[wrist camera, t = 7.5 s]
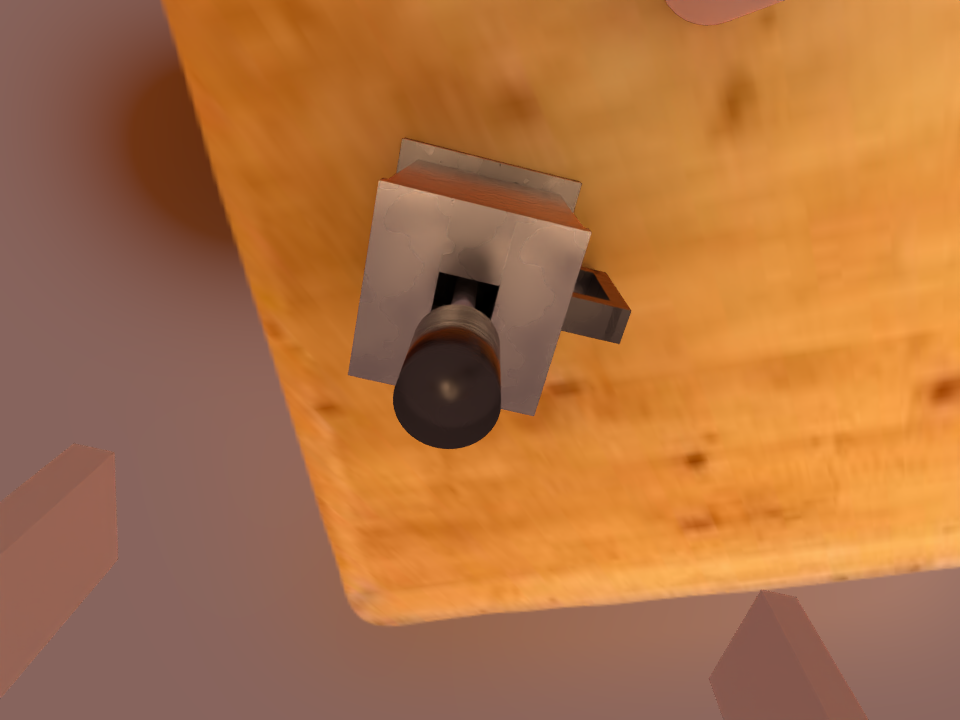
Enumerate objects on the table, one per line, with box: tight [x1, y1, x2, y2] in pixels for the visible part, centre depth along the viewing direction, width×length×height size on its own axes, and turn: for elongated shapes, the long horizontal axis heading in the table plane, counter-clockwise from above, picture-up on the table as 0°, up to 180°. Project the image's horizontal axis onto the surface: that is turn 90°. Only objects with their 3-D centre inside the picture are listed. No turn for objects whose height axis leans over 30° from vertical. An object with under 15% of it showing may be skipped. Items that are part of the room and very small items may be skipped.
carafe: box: [348, 138, 631, 416], centre depth 35 cm, size 15×12×14 cm
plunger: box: [393, 272, 501, 449], centre depth 29 cm, size 8×8×22 cm
